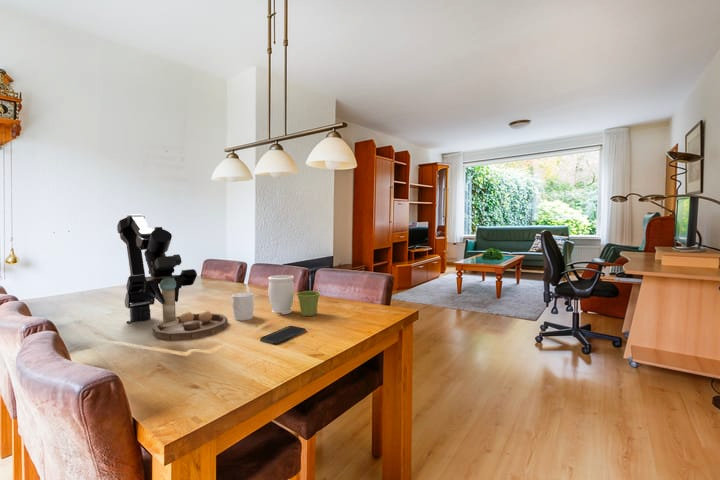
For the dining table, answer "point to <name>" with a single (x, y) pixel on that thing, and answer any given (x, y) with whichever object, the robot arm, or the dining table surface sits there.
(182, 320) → the loose bead
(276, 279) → the jar
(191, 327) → the walnut tray
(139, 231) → the robot arm
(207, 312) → the loose bead
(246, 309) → the white cup
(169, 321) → the bead post
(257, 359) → the dining table surface
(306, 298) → the plant pot
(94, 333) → the dining table surface
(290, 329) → the phone
